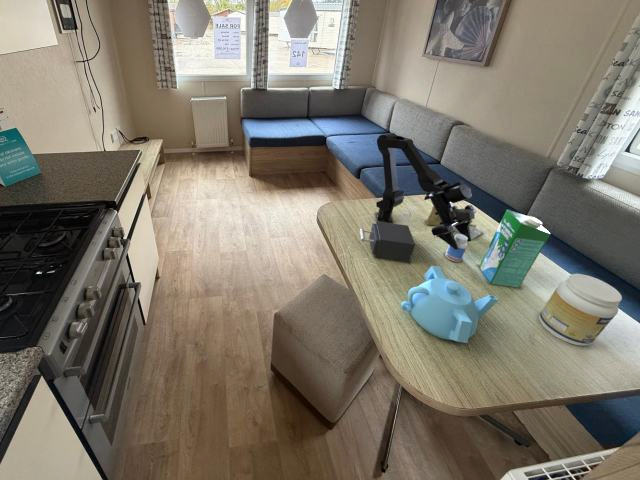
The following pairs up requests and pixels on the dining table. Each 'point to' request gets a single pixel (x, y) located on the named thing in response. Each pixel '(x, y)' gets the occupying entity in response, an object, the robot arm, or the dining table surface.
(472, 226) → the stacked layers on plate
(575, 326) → the supplement tub
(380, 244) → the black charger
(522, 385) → the dining table surface
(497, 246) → the milk carton
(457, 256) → the pill bottle
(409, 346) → the dining table surface
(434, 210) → the rock
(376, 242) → the drawer
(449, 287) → the teapot
